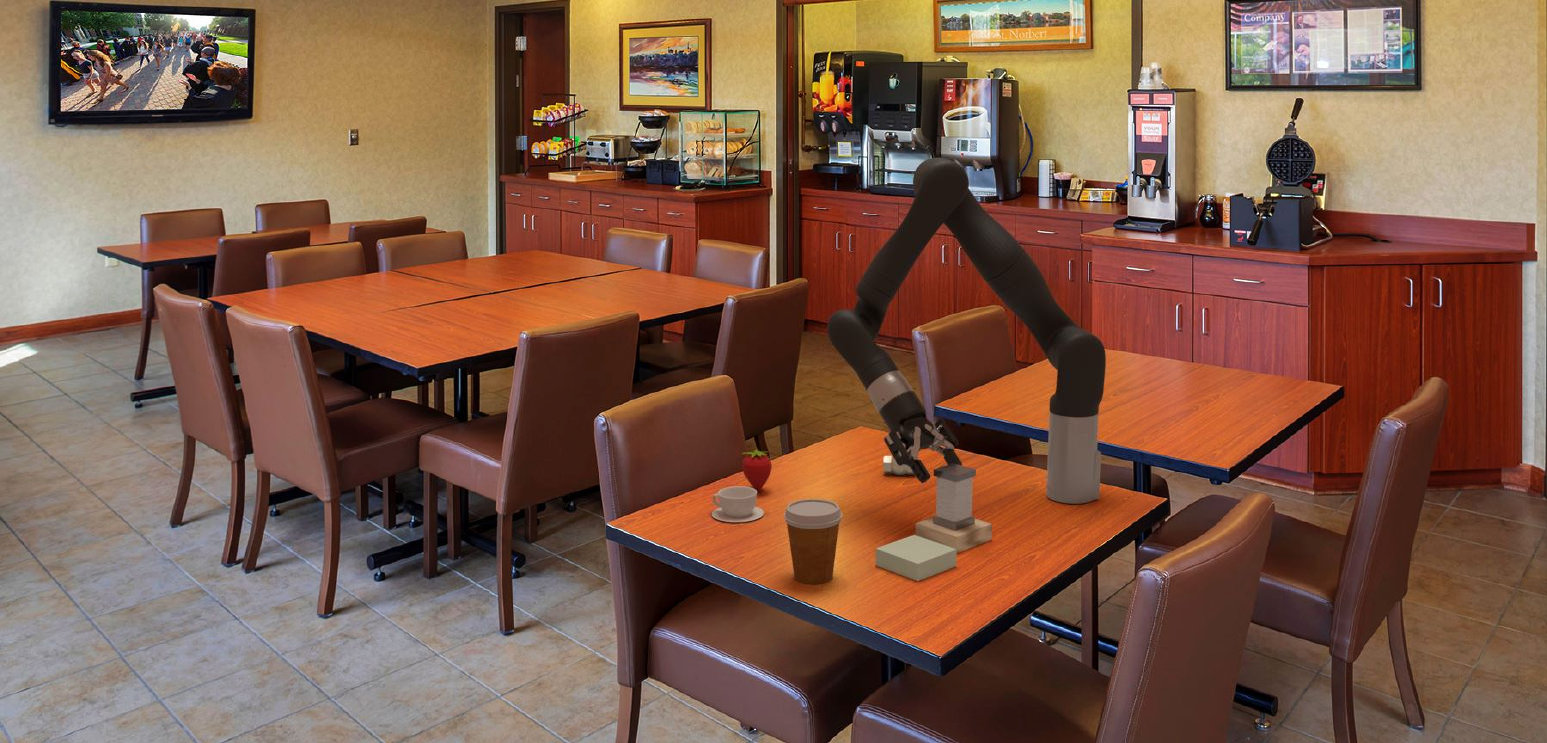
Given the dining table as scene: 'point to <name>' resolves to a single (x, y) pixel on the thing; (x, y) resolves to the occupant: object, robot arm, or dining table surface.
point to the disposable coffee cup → (813, 538)
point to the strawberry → (756, 468)
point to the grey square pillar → (954, 496)
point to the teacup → (737, 504)
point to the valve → (895, 466)
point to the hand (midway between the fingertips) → (942, 475)
